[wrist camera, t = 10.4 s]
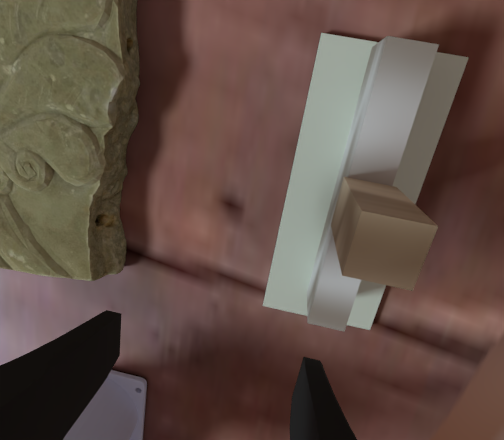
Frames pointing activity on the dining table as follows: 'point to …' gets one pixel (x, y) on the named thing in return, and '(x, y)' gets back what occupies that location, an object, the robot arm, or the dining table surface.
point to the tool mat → (329, 160)
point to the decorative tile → (65, 134)
